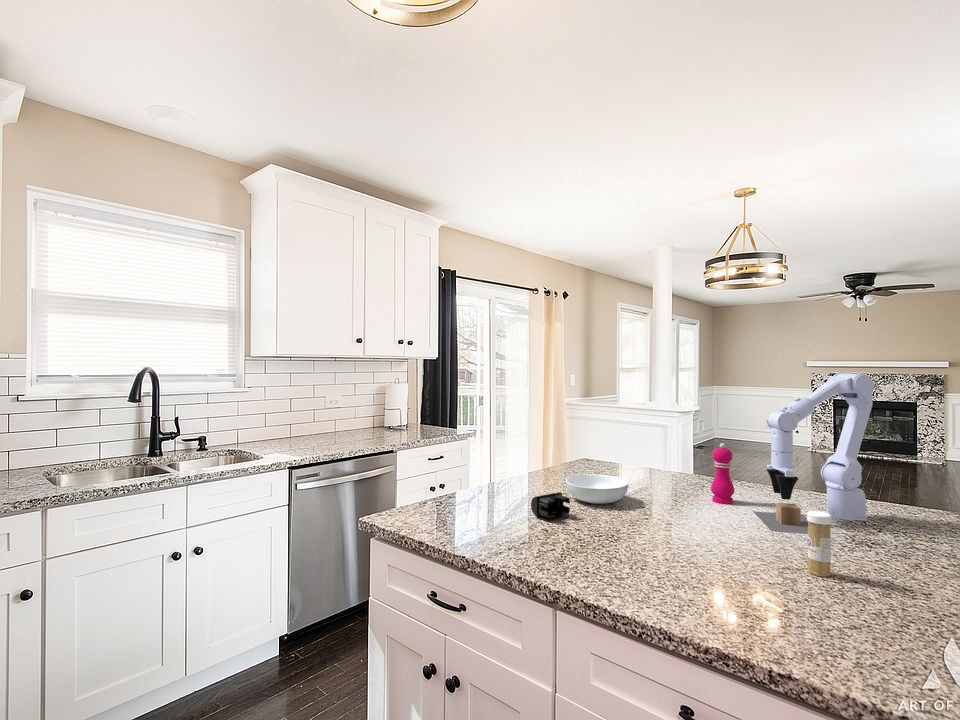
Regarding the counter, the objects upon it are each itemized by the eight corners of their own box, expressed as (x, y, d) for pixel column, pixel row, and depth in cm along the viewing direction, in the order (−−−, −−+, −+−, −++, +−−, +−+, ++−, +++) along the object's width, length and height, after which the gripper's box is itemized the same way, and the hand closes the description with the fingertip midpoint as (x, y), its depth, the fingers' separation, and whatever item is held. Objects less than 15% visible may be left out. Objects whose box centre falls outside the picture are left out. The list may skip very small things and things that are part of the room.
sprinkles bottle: (802, 569, 119) (802, 510, 119) (821, 569, 120) (821, 510, 120) (817, 578, 115) (817, 516, 115) (836, 577, 115) (836, 515, 115)
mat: (802, 515, 162) (802, 514, 162) (828, 536, 142) (828, 535, 142) (752, 512, 165) (753, 511, 165) (771, 532, 146) (771, 531, 146)
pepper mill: (737, 506, 172) (737, 445, 172) (713, 504, 174) (713, 444, 174) (731, 500, 179) (731, 441, 180) (708, 499, 181) (708, 441, 181)
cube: (794, 503, 156) (800, 508, 151) (794, 520, 156) (800, 525, 151) (775, 502, 157) (781, 507, 152) (775, 519, 157) (781, 524, 152)
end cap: (555, 511, 166) (555, 490, 166) (570, 517, 160) (571, 495, 160) (530, 516, 160) (530, 494, 160) (545, 522, 154) (545, 499, 154)
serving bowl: (554, 496, 184) (554, 477, 184) (602, 490, 193) (602, 472, 193) (590, 512, 165) (590, 490, 165) (642, 504, 174) (642, 484, 174)
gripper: (760, 446, 168) (760, 489, 168) (774, 454, 154) (774, 501, 153) (785, 447, 166) (785, 490, 166) (801, 455, 152) (801, 502, 152)
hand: (781, 496), depth 159 cm, fingers open, 7 cm apart
